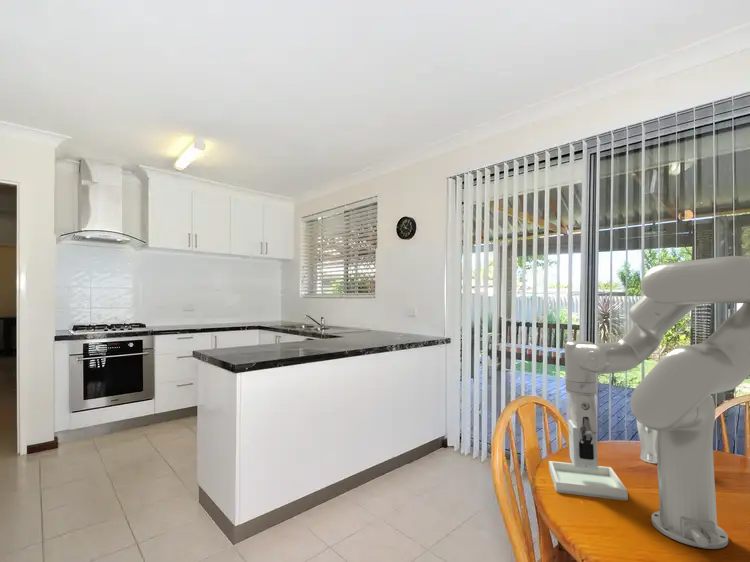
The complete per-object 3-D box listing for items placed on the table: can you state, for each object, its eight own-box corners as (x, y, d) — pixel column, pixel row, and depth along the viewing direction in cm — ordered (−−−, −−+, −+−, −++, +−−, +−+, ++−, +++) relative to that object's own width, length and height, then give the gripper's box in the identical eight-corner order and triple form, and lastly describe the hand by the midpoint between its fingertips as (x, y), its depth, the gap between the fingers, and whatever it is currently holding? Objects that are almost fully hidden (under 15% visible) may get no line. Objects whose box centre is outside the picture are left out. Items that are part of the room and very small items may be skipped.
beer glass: (671, 464, 115) (669, 413, 116) (648, 465, 116) (645, 413, 116) (655, 455, 122) (653, 407, 123) (633, 455, 122) (630, 407, 123)
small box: (598, 471, 100) (596, 429, 100) (574, 468, 101) (572, 427, 102) (591, 459, 107) (590, 420, 108) (569, 456, 109) (568, 418, 110)
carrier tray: (627, 500, 95) (627, 490, 95) (556, 492, 99) (555, 482, 100) (611, 476, 108) (611, 467, 108) (549, 469, 113) (548, 460, 113)
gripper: (605, 395, 96) (607, 467, 95) (589, 381, 113) (590, 442, 112) (571, 393, 98) (573, 463, 97) (560, 379, 115) (562, 439, 114)
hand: (582, 452), depth 105 cm, fingers closed on small box, 8 cm apart
